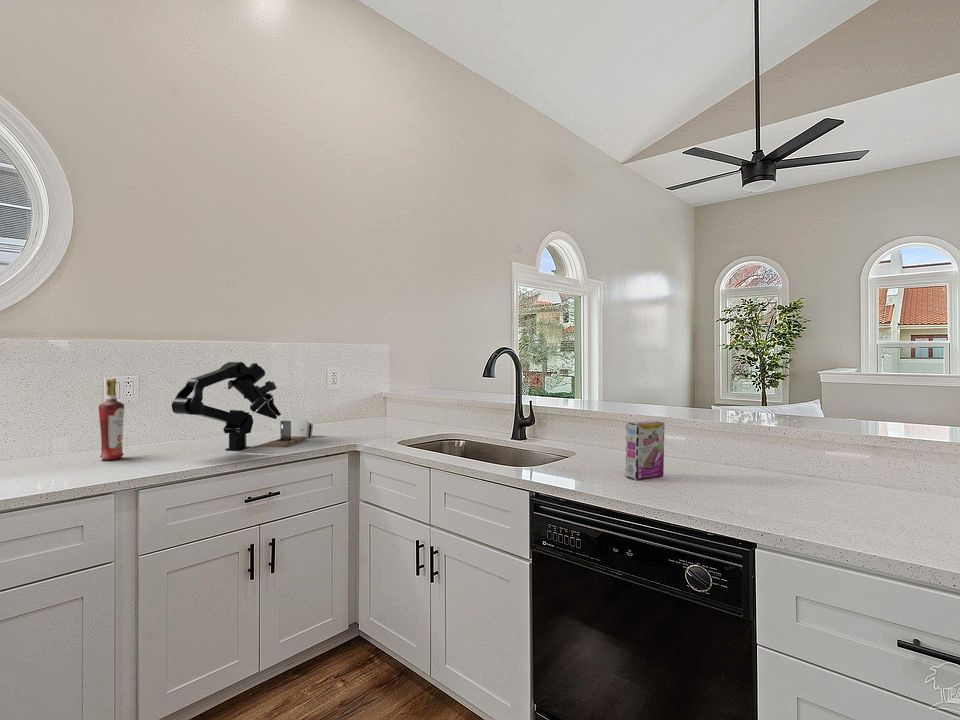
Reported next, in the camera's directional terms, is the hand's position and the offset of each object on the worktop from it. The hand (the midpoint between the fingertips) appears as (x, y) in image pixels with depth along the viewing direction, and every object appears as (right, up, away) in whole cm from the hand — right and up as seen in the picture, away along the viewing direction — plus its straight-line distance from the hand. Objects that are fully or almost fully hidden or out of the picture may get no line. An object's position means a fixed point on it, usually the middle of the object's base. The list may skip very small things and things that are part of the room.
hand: (278, 416), depth 208 cm
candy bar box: (+129, -13, -51) cm, 139 cm away
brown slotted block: (+3, -12, +2) cm, 12 cm away
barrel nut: (+3, -12, +1) cm, 12 cm away
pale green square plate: (+14, -12, +1) cm, 18 cm away
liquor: (-49, -12, -24) cm, 56 cm away
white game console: (0, -12, +18) cm, 22 cm away
